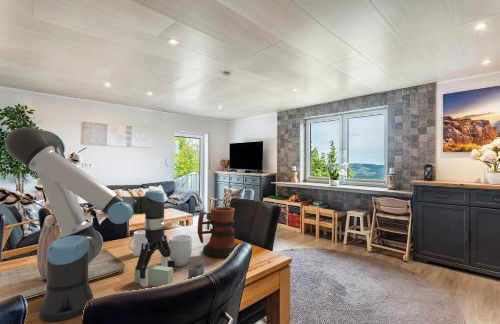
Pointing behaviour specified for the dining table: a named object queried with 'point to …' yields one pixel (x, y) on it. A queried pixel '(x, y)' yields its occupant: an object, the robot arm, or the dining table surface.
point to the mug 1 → (138, 242)
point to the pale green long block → (156, 275)
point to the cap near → (196, 271)
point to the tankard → (218, 232)
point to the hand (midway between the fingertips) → (154, 278)
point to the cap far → (170, 264)
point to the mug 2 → (180, 249)
